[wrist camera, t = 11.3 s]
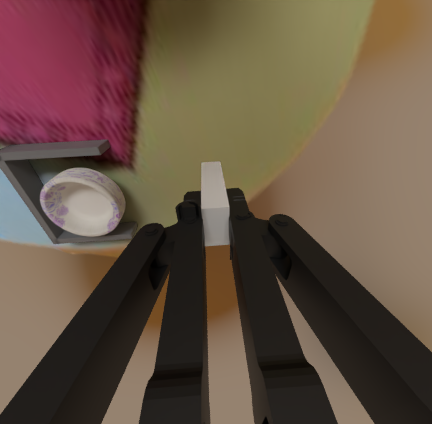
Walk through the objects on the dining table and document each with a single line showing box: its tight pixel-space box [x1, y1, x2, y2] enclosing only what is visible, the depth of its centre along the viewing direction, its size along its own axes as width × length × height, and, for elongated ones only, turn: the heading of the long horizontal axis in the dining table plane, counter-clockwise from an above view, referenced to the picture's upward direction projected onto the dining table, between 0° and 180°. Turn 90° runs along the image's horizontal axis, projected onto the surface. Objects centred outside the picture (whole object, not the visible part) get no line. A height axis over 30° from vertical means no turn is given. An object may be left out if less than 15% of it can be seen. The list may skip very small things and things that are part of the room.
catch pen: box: [0, 140, 137, 244], centre depth 46 cm, size 23×20×5 cm
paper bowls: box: [40, 168, 126, 237], centre depth 45 cm, size 15×15×8 cm
